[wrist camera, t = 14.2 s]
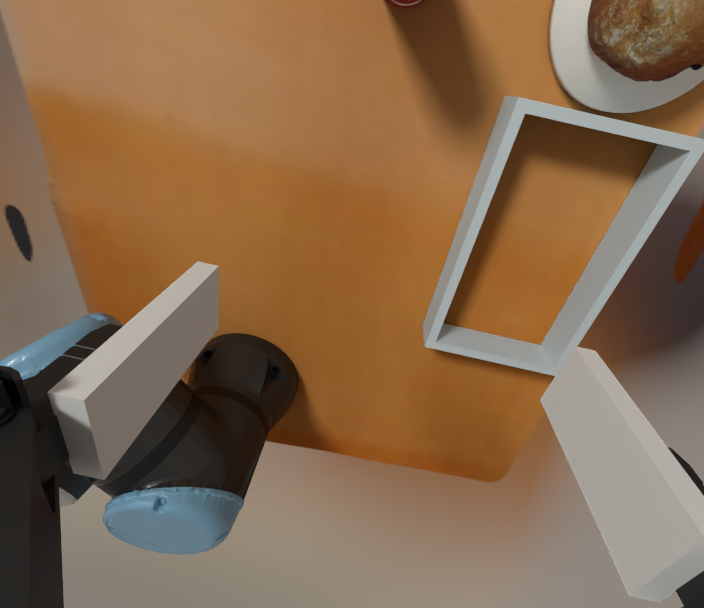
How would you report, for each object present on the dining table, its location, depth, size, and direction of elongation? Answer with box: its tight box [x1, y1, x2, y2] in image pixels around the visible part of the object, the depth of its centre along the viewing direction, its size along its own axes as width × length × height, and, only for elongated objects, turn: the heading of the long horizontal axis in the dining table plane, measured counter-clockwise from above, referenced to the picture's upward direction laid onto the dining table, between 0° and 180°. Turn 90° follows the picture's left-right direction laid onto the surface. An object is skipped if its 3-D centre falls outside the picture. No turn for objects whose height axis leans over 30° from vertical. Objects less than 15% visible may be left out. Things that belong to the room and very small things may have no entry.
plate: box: [548, 0, 704, 113], centre depth 29 cm, size 15×15×1 cm
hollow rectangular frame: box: [423, 96, 704, 376], centre depth 39 cm, size 26×16×4 cm, turn 169°
